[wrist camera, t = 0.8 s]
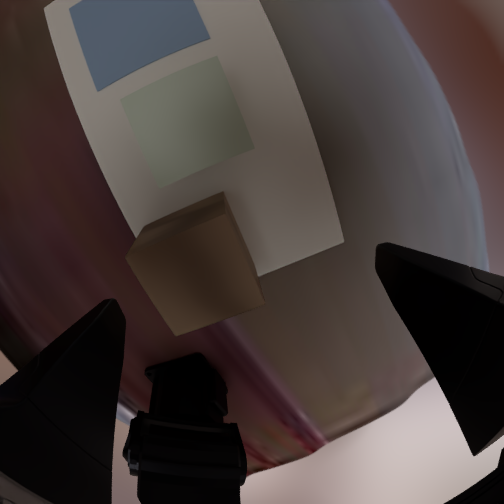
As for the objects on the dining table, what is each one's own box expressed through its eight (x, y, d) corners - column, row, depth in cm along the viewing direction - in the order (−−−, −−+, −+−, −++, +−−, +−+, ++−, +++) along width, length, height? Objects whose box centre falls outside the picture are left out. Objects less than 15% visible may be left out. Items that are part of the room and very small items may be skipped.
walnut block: (181, 293, 22) (175, 336, 17) (144, 225, 19) (124, 257, 15) (254, 265, 22) (265, 304, 17) (223, 191, 19) (225, 213, 15)
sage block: (173, 172, 18) (159, 188, 14) (143, 104, 16) (119, 99, 11) (245, 142, 18) (255, 148, 13) (216, 73, 16) (217, 55, 11)
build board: (177, 301, 23) (176, 308, 22) (48, 10, 11) (42, 7, 11) (340, 238, 22) (345, 243, 22) (218, -67, 11) (218, -73, 10)
